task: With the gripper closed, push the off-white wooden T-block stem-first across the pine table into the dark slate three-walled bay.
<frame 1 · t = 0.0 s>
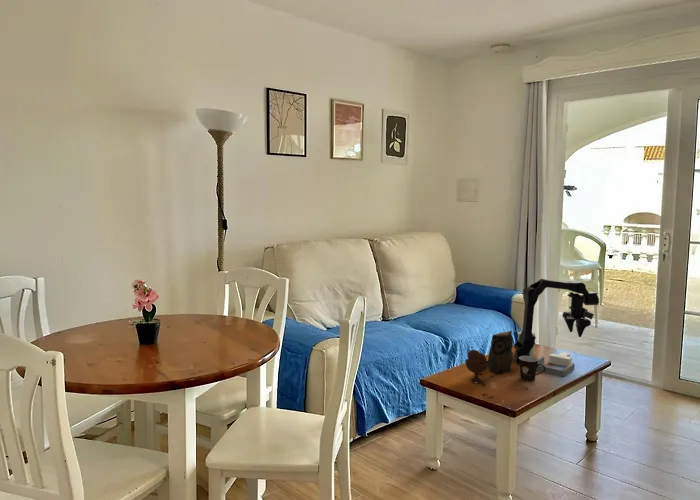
hand: (575, 334, 268), 15 cm above the table, fingers open, 9 cm apart
coffee mug: (529, 380, 242), on the table
t block: (562, 362, 268), on the table
ice cream bowl: (476, 381, 241), on the table
can: (525, 354, 282), on the table
bay: (552, 368, 258), on the table
owl: (498, 369, 257), on the table
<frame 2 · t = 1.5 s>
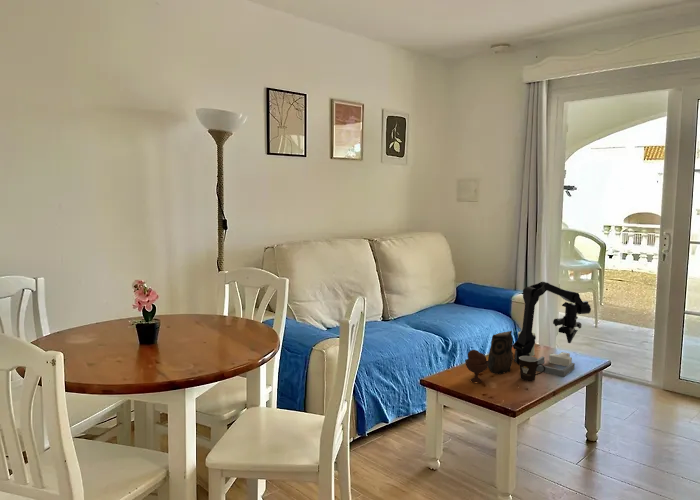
hand: (569, 343, 274), 8 cm above the table, fingers closed
nothing on the table moved.
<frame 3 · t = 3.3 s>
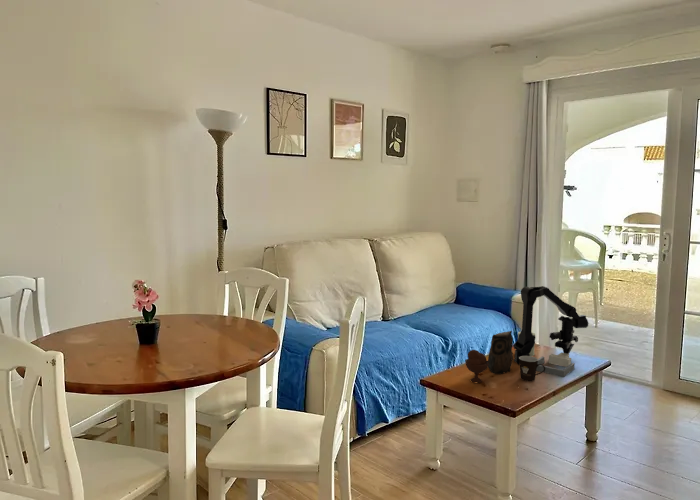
hand: (565, 357, 272), 1 cm above the table, fingers closed
t block: (561, 362, 267), on the table, touching gripper
everything else where it was.
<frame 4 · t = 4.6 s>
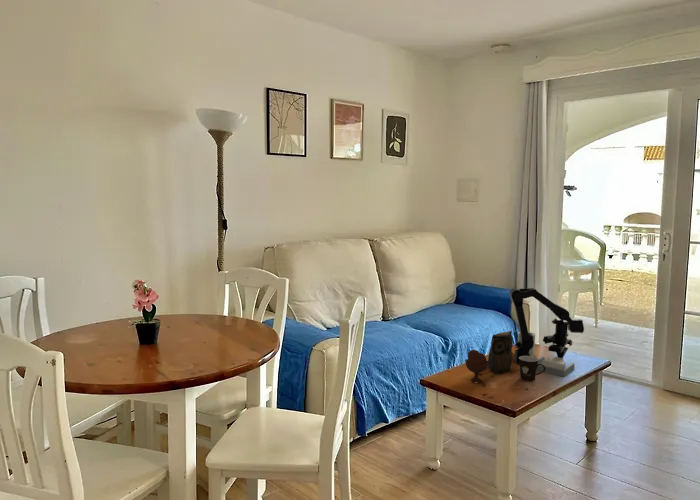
hand: (559, 361, 265), 1 cm above the table, fingers closed
t block: (555, 367, 260), on the table, touching gripper
everything else where it was.
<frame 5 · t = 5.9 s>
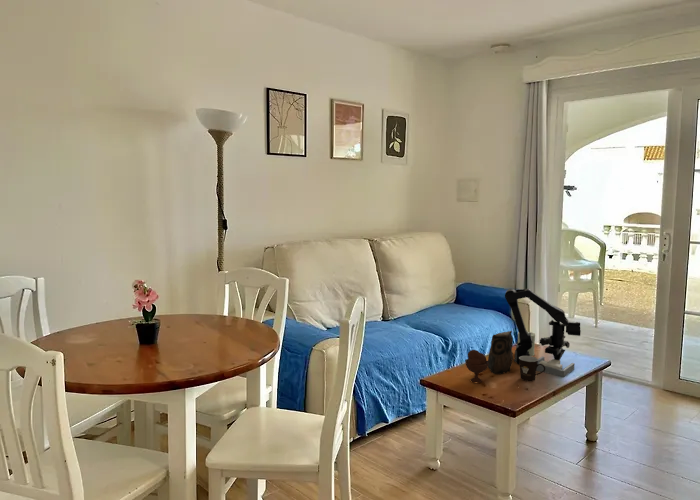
hand: (556, 363, 262), 2 cm above the table, fingers closed
t block: (552, 369, 257), on the table, touching gripper
everything else where it was.
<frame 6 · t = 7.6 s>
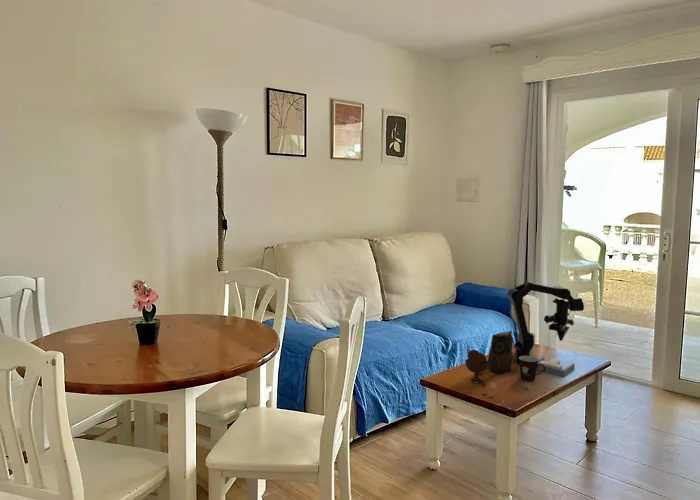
hand: (560, 340, 267), 12 cm above the table, fingers closed
t block: (552, 369, 257), on the table
everything else where it was.
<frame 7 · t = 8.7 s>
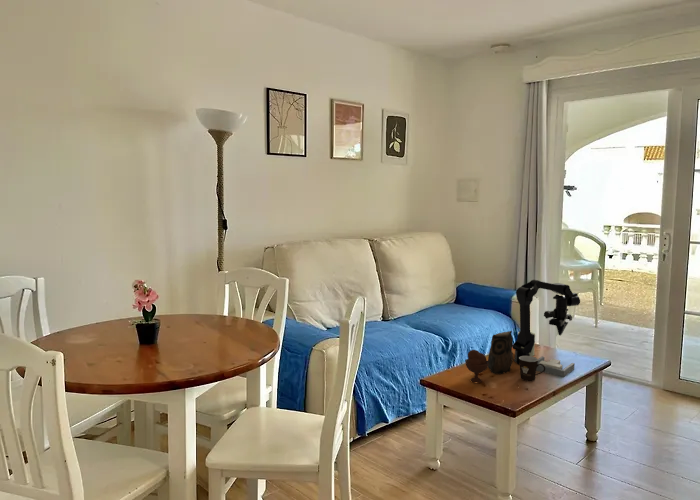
hand: (560, 335, 276), 12 cm above the table, fingers closed
nothing on the table moved.
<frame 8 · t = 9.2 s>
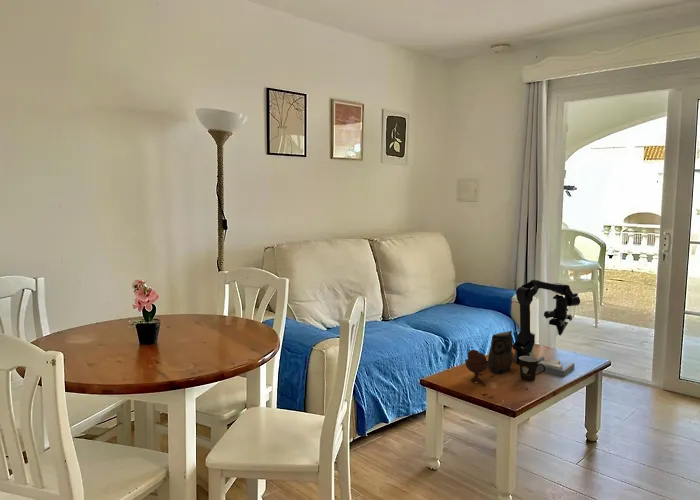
hand: (560, 335, 276), 12 cm above the table, fingers closed
nothing on the table moved.
at the end: t block 1.5 cm from the bay (horizontally); t block tilted 1°; the gripper is holding nothing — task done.
